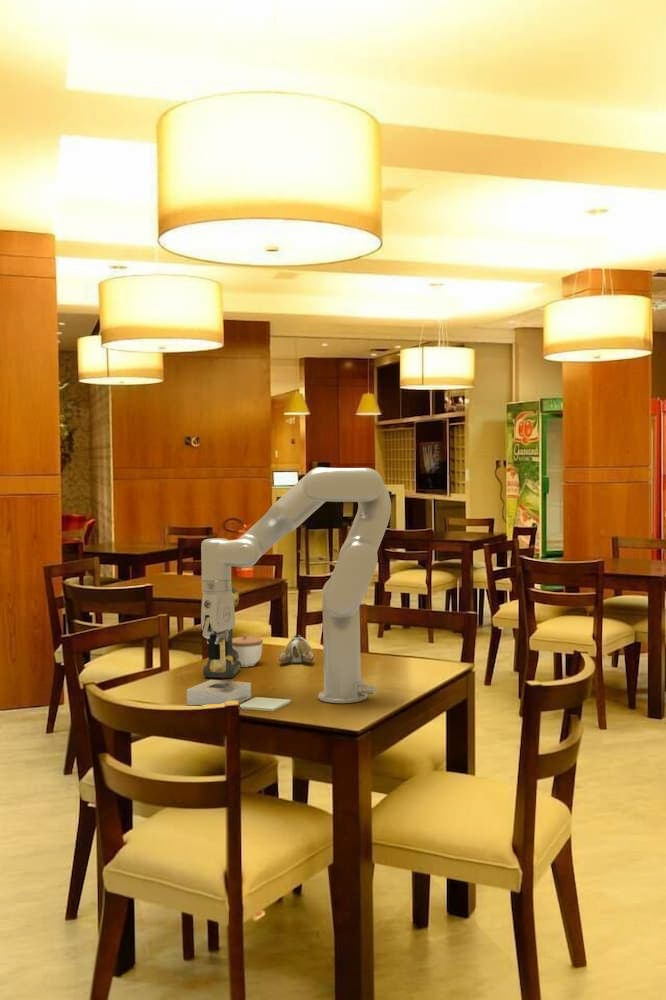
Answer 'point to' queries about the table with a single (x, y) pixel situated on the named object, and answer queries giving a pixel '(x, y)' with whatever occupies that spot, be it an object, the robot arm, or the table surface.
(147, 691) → the table surface
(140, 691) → the table surface
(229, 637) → the cordless drill
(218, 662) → the metal bolt
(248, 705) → the mat
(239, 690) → the plate
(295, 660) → the ceramic sculpture
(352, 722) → the table surface
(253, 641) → the lidded jar
